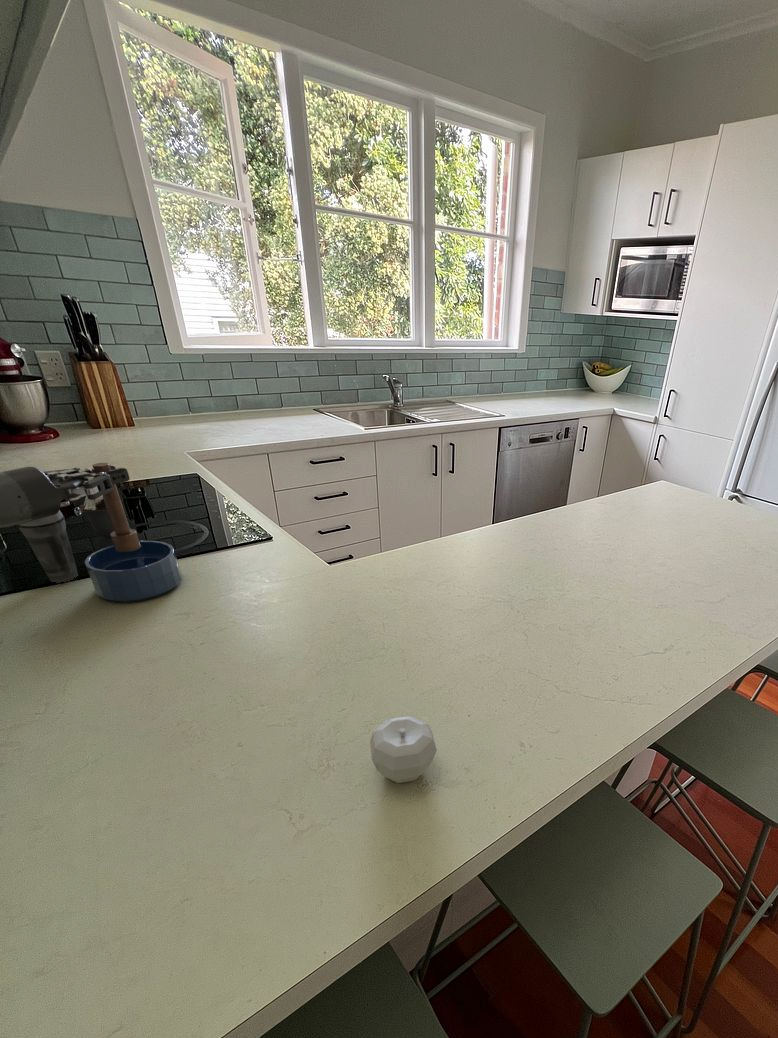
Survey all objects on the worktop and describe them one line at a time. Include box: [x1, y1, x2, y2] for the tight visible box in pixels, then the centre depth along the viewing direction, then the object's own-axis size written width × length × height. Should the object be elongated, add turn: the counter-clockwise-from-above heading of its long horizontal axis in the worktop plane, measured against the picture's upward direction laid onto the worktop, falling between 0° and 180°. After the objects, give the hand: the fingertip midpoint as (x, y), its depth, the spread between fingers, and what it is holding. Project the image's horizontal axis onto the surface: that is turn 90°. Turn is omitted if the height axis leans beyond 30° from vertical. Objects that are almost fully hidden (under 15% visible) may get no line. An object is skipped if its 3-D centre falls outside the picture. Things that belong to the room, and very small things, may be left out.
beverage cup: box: [16, 510, 79, 584], centre depth 100 cm, size 7×7×20 cm
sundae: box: [78, 496, 114, 547], centre depth 112 cm, size 7×7×15 cm
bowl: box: [84, 540, 183, 603], centre depth 101 cm, size 14×14×6 cm
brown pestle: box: [92, 462, 141, 552], centre depth 95 cm, size 4×4×15 cm
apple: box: [369, 715, 438, 784], centre depth 63 cm, size 8×8×7 cm
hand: (120, 472), depth 94 cm, fingers closed on brown pestle, 2 cm apart
